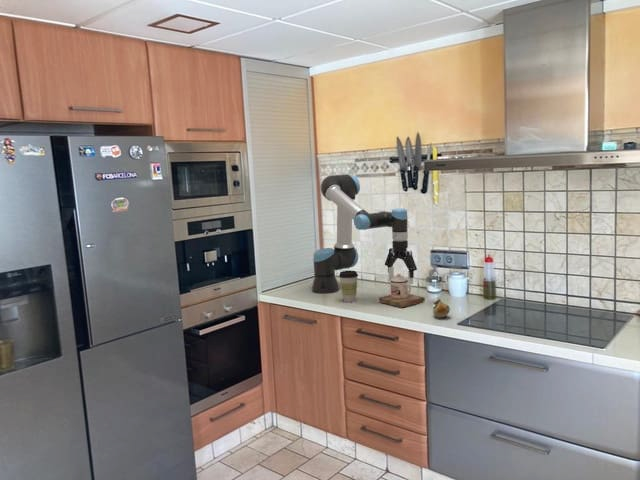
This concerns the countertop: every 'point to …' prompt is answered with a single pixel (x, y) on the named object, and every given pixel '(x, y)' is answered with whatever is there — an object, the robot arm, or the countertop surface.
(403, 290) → the teacup with lid
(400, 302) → the walnut board
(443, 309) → the onion
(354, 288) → the coffee cup
